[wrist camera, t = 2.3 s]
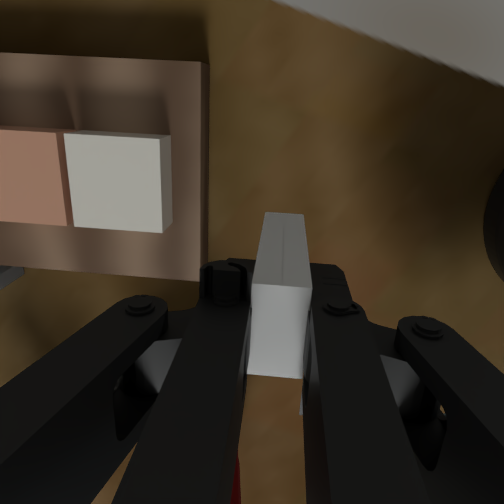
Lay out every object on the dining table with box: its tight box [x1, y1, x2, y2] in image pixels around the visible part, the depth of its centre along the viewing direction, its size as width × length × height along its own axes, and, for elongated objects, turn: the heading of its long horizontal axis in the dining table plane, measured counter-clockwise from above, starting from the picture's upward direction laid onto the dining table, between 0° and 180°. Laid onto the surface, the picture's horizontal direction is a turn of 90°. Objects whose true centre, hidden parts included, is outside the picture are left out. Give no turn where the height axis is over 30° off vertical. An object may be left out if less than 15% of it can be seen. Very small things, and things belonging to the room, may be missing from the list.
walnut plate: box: [0, 53, 210, 281], centre depth 30 cm, size 16×15×3 cm
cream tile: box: [64, 130, 173, 233], centre depth 27 cm, size 6×6×2 cm
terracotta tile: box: [0, 125, 76, 226], centre depth 28 cm, size 6×6×2 cm
